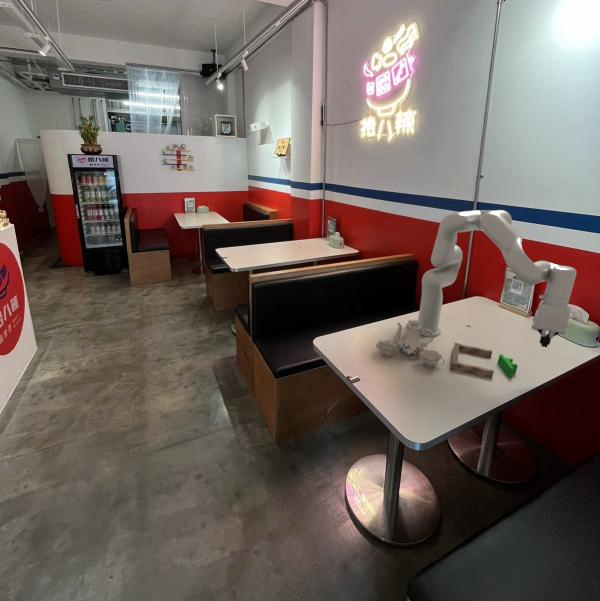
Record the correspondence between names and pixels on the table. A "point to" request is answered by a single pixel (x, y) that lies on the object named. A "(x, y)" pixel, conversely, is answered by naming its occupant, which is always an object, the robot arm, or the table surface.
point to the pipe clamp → (507, 365)
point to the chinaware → (410, 345)
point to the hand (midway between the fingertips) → (543, 345)
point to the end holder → (470, 368)
